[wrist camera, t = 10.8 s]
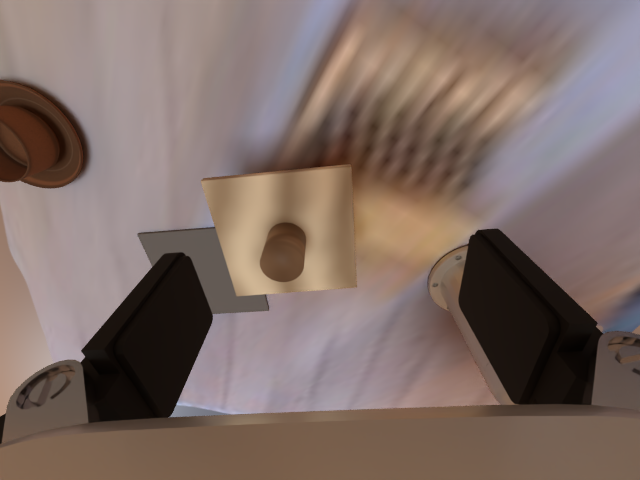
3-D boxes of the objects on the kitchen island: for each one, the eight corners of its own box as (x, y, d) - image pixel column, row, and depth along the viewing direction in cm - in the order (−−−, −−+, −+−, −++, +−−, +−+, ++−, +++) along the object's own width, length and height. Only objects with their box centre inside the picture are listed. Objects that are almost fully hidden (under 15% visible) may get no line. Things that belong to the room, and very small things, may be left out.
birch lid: (350, 164, 27) (356, 183, 23) (356, 282, 34) (361, 315, 30) (203, 178, 28) (180, 199, 23) (238, 291, 35) (225, 325, 30)
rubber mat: (248, 224, 41) (247, 226, 41) (269, 308, 49) (268, 310, 49) (138, 233, 42) (137, 234, 42) (176, 314, 50) (175, 316, 50)
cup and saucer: (-21, 148, 37) (-80, 162, 31) (-14, 54, 31) (-83, 52, 26) (80, 199, 40) (43, 220, 35) (102, 122, 35) (62, 133, 29)
